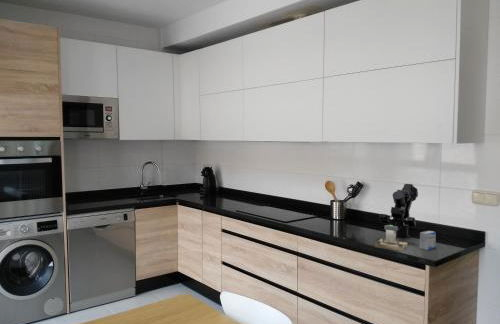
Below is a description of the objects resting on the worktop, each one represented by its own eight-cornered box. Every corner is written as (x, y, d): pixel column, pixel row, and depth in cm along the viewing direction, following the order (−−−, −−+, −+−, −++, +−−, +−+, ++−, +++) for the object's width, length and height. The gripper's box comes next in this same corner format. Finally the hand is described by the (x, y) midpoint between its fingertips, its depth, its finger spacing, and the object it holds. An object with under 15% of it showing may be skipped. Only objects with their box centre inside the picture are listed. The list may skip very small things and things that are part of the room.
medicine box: (427, 250, 199) (428, 233, 198) (419, 248, 202) (419, 232, 202) (435, 248, 203) (436, 231, 203) (427, 246, 207) (427, 230, 207)
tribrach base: (381, 242, 214) (381, 233, 214) (407, 246, 206) (408, 236, 206) (374, 246, 204) (375, 237, 204) (402, 251, 197) (402, 241, 196)
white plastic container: (385, 239, 207) (386, 223, 207) (397, 241, 204) (398, 225, 203) (383, 241, 203) (383, 225, 203) (395, 243, 200) (395, 227, 199)
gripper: (380, 199, 218) (374, 222, 210) (415, 202, 208) (410, 227, 199) (383, 211, 225) (377, 233, 217) (417, 214, 215) (413, 238, 206)
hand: (394, 233), depth 210 cm, fingers closed
